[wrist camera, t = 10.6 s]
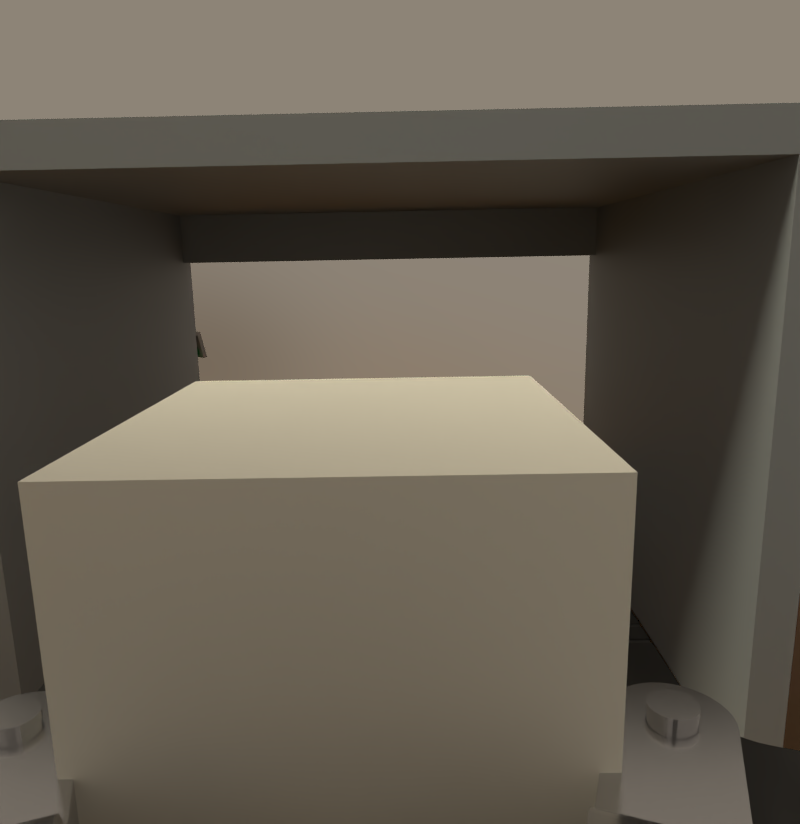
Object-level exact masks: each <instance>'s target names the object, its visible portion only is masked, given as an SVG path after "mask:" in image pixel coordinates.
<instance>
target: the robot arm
mask: <svg viewBox="0 0 800 824" xmlns="http://www.w3.org/2000/svg"><path fill="white" fill-rule="evenodd" d="M0 824H79V819H78V812H77V804H76V796H75V789H74V781H73V779H59V780H57V772H56V765H55V757H54V750H53V742H52V735H51V728H50V720H49V713H48V705H47V698H46V690H45V683H44V684H43V685H42V686H41V687H40V688H39V689H38V691H37V692H30V693H24V694H20V695H15V696H12V697H9V698H5V699H2V700H0ZM587 824H800V751H797V750H792V749H787V748H782V747H777V746H771V745H767V744H763V743H758V742H755V741H752V740H749V739H746V738H743V737H740V732H739V728H738V724H737V722H736V720H735V719H734V717H733V716H732V715H731V713H730V712H729V711H728V710H727V709H726V708H724V707H723V706H722V705H721V704H720V703H718V702H717V701H715V700H714V699H712V698H710V697H708V696H706V695H704V694H702V693H700V692H698V691H695V690H693V689H689V688H686V687H683V686H680V685H679V683H678V682H677V680H676V679H675V677H674V675H673V674H672V672H671V671H670V669H669V668H668V666H667V665H666V663H665V662H664V660H663V659H662V657H661V656H660V654H659V652H658V651H657V649H656V648H655V646H654V645H653V643H650V640H649V637H648V636H647V634H646V633H645V631H644V629H643V628H642V627H640V624H639V622H638V620H637V619H636V617H635V616H634V614H633V613H632V611H631V610H630V627H629V646H628V665H627V684H626V703H625V722H624V741H623V760H622V773H599V780H598V787H597V794H596V801H595V808H594V807H590V808H589V812H588V818H587Z"/></svg>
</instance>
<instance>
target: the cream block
mask: <svg viewBox="0 0 800 824" xmlns="http://www.w3.org/2000/svg"><path fill="white" fill-rule="evenodd" d="M637 475H638V472H637V471H636V470H634V469H633V468H632V467H631V466H630V465H629V464H628V463H627V462H626V461H624V460H623V459H622V458H621V457H620V456H619V455H618V454H617V453H615V452H614V451H613V450H612V449H611V448H610V447H609V446H608V445H607V444H605V443H604V442H603V441H602V440H601V439H600V438H599V437H598V436H597V435H595V434H594V433H593V432H592V431H591V430H590V429H589V428H588V427H587V426H585V425H584V424H583V423H582V422H581V421H580V420H579V419H578V418H577V417H575V416H574V415H573V414H572V413H571V412H570V411H569V410H568V409H566V408H565V407H564V406H563V405H562V404H561V403H560V402H559V401H558V400H556V399H555V398H554V397H553V396H552V395H551V394H550V393H549V392H548V391H546V390H545V389H544V388H543V387H542V386H541V385H540V384H538V382H536V381H535V380H534V379H533V378H532V377H531V376H479V377H421V378H366V379H365V378H360V379H303V380H242V381H195V382H194V383H192V384H190V385H188V386H186V387H185V388H183V389H181V390H179V391H178V392H176V393H174V394H172V395H171V396H169V397H167V398H165V399H163V400H162V401H160V402H158V403H156V404H155V405H153V406H151V407H149V408H148V409H146V410H144V411H142V412H140V413H139V414H137V415H135V416H133V417H132V418H130V419H128V420H126V421H125V422H123V423H121V424H119V425H117V426H116V427H114V428H112V429H110V430H109V431H107V432H105V433H103V434H102V435H100V436H98V437H96V438H94V439H93V440H91V441H89V442H87V443H86V444H84V445H82V446H80V447H79V448H77V449H75V450H73V451H71V452H70V453H68V454H66V455H64V456H63V457H61V458H59V459H57V460H56V461H54V462H52V463H50V464H48V465H47V466H45V467H43V468H41V469H40V470H38V471H36V472H34V473H33V474H31V475H29V476H27V477H25V478H24V479H22V480H20V481H18V489H19V497H20V504H21V512H22V519H23V526H24V534H25V541H26V549H27V556H28V564H29V571H30V579H31V586H32V593H33V601H34V608H35V616H36V623H37V631H38V638H39V646H40V653H41V661H42V668H43V675H44V683H45V690H46V698H47V705H48V713H49V720H50V728H51V735H52V742H53V750H54V757H55V765H56V772H57V780H59V779H73V781H74V789H75V796H76V804H77V812H78V819H79V824H587V818H588V812H589V808H590V807H594V808H595V801H596V794H597V787H598V780H599V773H622V760H623V741H624V722H625V703H626V684H627V665H628V646H629V627H630V608H631V589H632V570H633V551H634V532H635V513H636V494H637Z"/></svg>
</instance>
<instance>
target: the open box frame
mask: <svg viewBox="0 0 800 824" xmlns="http://www.w3.org/2000/svg"><path fill="white" fill-rule="evenodd" d="M566 255H567V256H571V255H590V265H589V291H588V319H587V345H586V372H585V374H586V375H585V399H584V425H585V426H587V427H588V428H589V429H590V430H591V431H592V432H593V433H594V434H595V435H597V436H598V437H599V438H600V439H601V440H602V441H603V442H604V443H605V444H607V445H608V446H609V447H610V448H611V449H612V450H613V451H614V452H615V453H617V454H618V455H619V456H620V457H621V458H622V459H623V460H624V461H626V462H627V463H628V464H629V465H630V466H631V467H632V468H633V469H634V470H636V471H637V472H638V475H637V494H636V513H635V532H634V551H633V570H632V589H631V609H632V610H633V612H634V613H635V615H636V617H637V618H638V620H639V621H640V623H641V624H642V626H643V627H644V629H645V631H646V632H647V634H648V635H649V637H650V638H651V640H652V641H653V643H654V645H655V646H656V648H657V649H658V651H659V652H660V654H661V655H662V657H663V659H664V660H665V662H666V663H667V665H668V666H669V668H670V669H671V671H672V673H673V674H674V676H675V677H676V679H677V680H678V682H679V683H680V685H681V686H683V687H686V688H689V689H693V690H695V691H698V692H700V693H702V694H704V695H706V696H708V697H710V698H712V699H714V700H715V701H717V702H718V703H720V704H721V705H722V706H723V707H724V708H726V709H727V710H728V711H729V712H730V713H731V715H732V716H733V717H734V719H735V720H736V722H737V724H738V728H739V732H740V737H743V738H746V739H749V740H752V741H755V742H758V743H763V744H767V745H771V746H777V747H782V748H783V742H784V733H785V724H786V715H787V706H788V696H789V687H790V678H791V669H792V660H793V651H794V641H795V632H796V623H797V614H798V605H799V596H800V103H778V104H777V103H771V104H728V105H727V104H726V105H679V106H636V107H635V106H633V107H589V108H588V107H587V108H543V109H542V108H541V109H495V110H450V111H448V110H447V111H402V112H354V113H308V114H264V115H263V114H262V115H221V116H220V115H217V116H172V117H171V116H170V117H130V118H129V117H124V118H123V117H122V118H80V119H79V118H77V119H36V120H35V119H31V120H0V700H2V699H5V698H9V697H12V696H15V695H20V694H24V693H30V692H37V691H38V689H39V688H40V687H41V686H42V685H43V684H44V675H43V668H42V661H41V653H40V646H39V638H38V631H37V623H36V616H35V608H34V601H33V593H32V586H31V579H30V571H29V564H28V556H27V549H26V541H25V534H24V526H23V519H22V512H21V504H20V497H19V489H18V481H20V480H22V479H24V478H25V477H27V476H29V475H31V474H33V473H34V472H36V471H38V470H40V469H41V468H43V467H45V466H47V465H48V464H50V463H52V462H54V461H56V460H57V459H59V458H61V457H63V456H64V455H66V454H68V453H70V452H71V451H73V450H75V449H77V448H79V447H80V446H82V445H84V444H86V443H87V442H89V441H91V440H93V439H94V438H96V437H98V436H100V435H102V434H103V433H105V432H107V431H109V430H110V429H112V428H114V427H116V426H117V425H119V424H121V423H123V422H125V421H126V420H128V419H130V418H132V417H133V416H135V415H137V414H139V413H140V412H142V411H144V410H146V409H148V408H149V407H151V406H153V405H155V404H156V403H158V402H160V401H162V400H163V399H165V398H167V397H169V396H171V395H172V394H174V393H176V392H178V391H179V390H181V389H183V388H185V387H186V386H188V385H190V384H192V383H194V382H195V381H200V379H199V367H198V354H197V342H196V329H195V318H194V304H193V291H192V279H191V267H190V263H201V262H202V263H203V262H252V261H253V262H258V261H306V260H307V261H309V260H358V259H359V260H361V259H411V258H412V259H414V258H462V257H463V258H465V257H466V258H467V257H515V256H516V257H518V256H519V257H520V256H566Z"/></svg>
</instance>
